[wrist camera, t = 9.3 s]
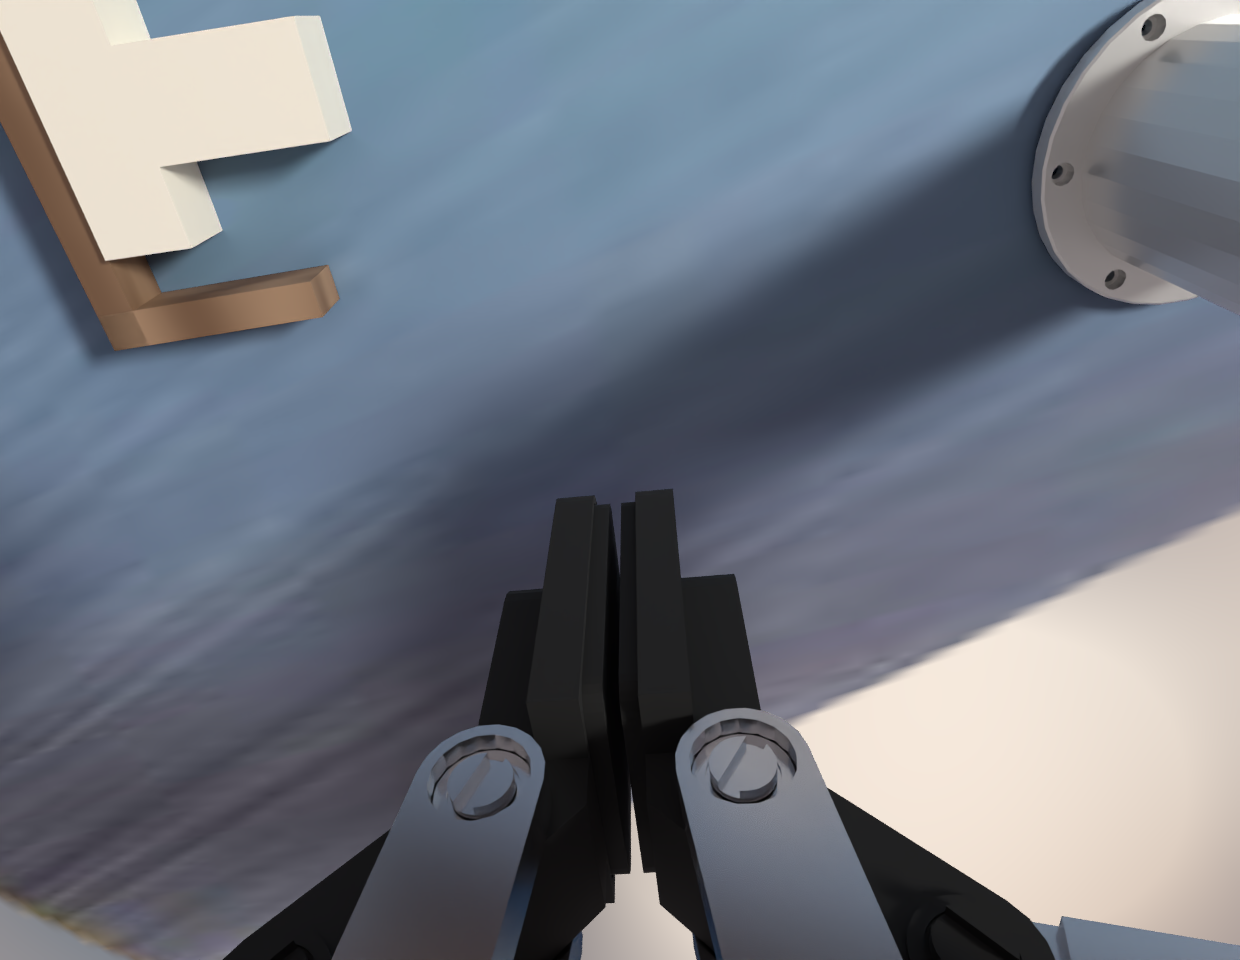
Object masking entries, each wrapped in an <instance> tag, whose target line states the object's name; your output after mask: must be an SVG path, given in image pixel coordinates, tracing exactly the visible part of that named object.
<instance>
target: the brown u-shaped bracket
mask: <svg viewBox="0 0 1240 960" xmlns="http://www.w3.org/2000/svg"><path fill="white" fill-rule="evenodd" d="M0 122H1V124H2V126H3V128H4V130H5V132H6V134H7V136H8V138H9V140H10V142H11V144H12V146H13V148H14V150H15V152H16V154H17V156H18V158H19V160H20V162H21V164H22V166H23V168H24V170H25V172H26V174H27V176H28V178H29V180H30V182H31V184H32V186H33V188H34V190H35V192H36V194H37V196H38V198H39V200H40V202H41V204H42V206H43V208H44V210H45V212H46V214H47V216H48V218H49V220H50V222H51V224H52V226H53V228H54V230H55V232H56V234H57V236H58V238H59V240H60V242H61V244H62V246H63V248H64V250H65V252H66V254H67V256H68V258H69V260H70V262H71V264H72V266H73V268H74V270H75V272H76V274H77V276H78V278H79V280H80V282H81V284H82V286H83V288H84V290H85V292H86V294H87V296H88V298H89V300H90V302H91V304H92V306H93V308H94V310H95V312H96V314H97V316H98V318H99V320H100V322H101V324H102V326H103V328H104V330H105V332H106V334H107V336H108V338H109V340H110V342H111V344H112V346H113V348H114V350H115V351H118V350H124V349H130V348H136V347H142V346H148V345H155V344H161V343H167V342H173V341H179V340H185V339H191V338H197V337H203V336H210V335H216V334H222V333H228V332H234V331H240V330H246V329H252V328H258V327H265V326H271V325H277V324H283V323H289V322H295V321H301V320H307V319H314V318H320V317H323V316H324V315H325V314H326V313H327V312H328V311H329V310H330V308H331V307H332V306H333V305H334V304H335V303H336V302H337V301H338V300H339V299H340V298H339V295H338V293H337V290H336V287H335V284H334V281H333V278H332V275H331V272H330V269H329V266H328V265H324V266H318V267H312V268H306V269H300V270H294V271H288V272H282V273H276V274H270V275H264V276H258V277H252V278H246V279H240V280H234V281H229V282H223V283H217V284H211V285H205V286H199V287H193V288H187V289H181V290H175V291H169V292H163V293H161V291H160V289H159V286H158V284H157V282H156V280H155V278H154V275H153V273H152V271H151V269H150V266H149V264H148V262H147V260H146V258H145V255H142V256H135V257H129V258H122V259H115V260H108V261H105V259H104V257H103V255H102V252H101V250H100V248H99V246H98V244H97V242H96V239H95V237H94V235H93V233H92V231H91V228H90V226H89V224H88V222H87V220H86V217H85V215H84V213H83V211H82V209H81V206H80V204H79V202H78V200H77V198H76V196H75V193H74V191H73V189H72V187H71V185H70V182H69V180H68V178H67V176H66V174H65V171H64V169H63V167H62V165H61V163H60V161H59V158H58V156H57V154H56V152H55V150H54V147H53V145H52V143H51V141H50V139H49V136H48V134H47V132H46V130H45V128H44V126H43V123H42V121H41V119H40V117H39V115H38V112H37V110H36V108H35V106H34V104H33V101H32V99H31V97H30V95H29V93H28V90H27V88H26V86H25V84H24V82H23V80H22V77H21V75H20V73H19V71H18V69H17V66H16V64H15V62H14V60H13V58H12V55H11V53H10V51H9V49H8V47H7V45H6V42H5V40H4V38H3V36H2V34H1V31H0Z"/></svg>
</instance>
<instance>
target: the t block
mask: <svg viewBox="0 0 1240 960" xmlns="http://www.w3.org/2000/svg"><path fill="white" fill-rule="evenodd" d="M0 31H1V34H2V36H3V38H4V40H5V42H6V45H7V47H8V49H9V51H10V53H11V55H12V58H13V60H14V62H15V64H16V66H17V69H18V71H19V73H20V75H21V77H22V80H23V82H24V84H25V86H26V88H27V90H28V93H29V95H30V97H31V99H32V101H33V104H34V106H35V108H36V110H37V112H38V115H39V117H40V119H41V121H42V123H43V126H44V128H45V130H46V132H47V134H48V136H49V139H50V141H51V143H52V145H53V147H54V150H55V152H56V154H57V156H58V158H59V161H60V163H61V165H62V167H63V169H64V171H65V174H66V176H67V178H68V180H69V182H70V185H71V187H72V189H73V191H74V193H75V196H76V198H77V200H78V202H79V204H80V206H81V209H82V211H83V213H84V215H85V217H86V220H87V222H88V224H89V226H90V228H91V231H92V233H93V235H94V237H95V239H96V242H97V244H98V246H99V248H100V250H101V252H102V255H103V257H104V259H105V261H108V260H115V259H122V258H129V257H135V256H142V255H149V254H156V253H163V252H169V251H176V250H183V249H190V248H193V247H195V246H197V245H198V244H200V243H202V242H203V241H205V240H207V239H209V238H210V237H212V236H214V235H216V234H217V233H219V232H221V231H223V230H222V228H221V225H220V222H219V220H218V217H217V214H216V212H215V209H214V206H213V204H212V201H211V198H210V196H209V193H208V190H207V188H206V185H205V182H204V180H203V177H202V174H201V172H200V169H199V166H198V164H197V161H203V160H209V159H216V158H222V157H229V156H236V155H242V154H249V153H255V152H262V151H268V150H275V149H281V148H288V147H295V146H301V145H308V144H314V143H321V142H327V141H332V140H334V139H336V138H338V137H340V136H342V135H344V134H346V133H348V132H351V131H352V129H351V125H350V122H349V118H348V115H347V111H346V107H345V104H344V100H343V97H342V93H341V90H340V86H339V82H338V79H337V75H336V72H335V68H334V65H333V61H332V57H331V54H330V50H329V47H328V43H327V40H326V36H325V32H324V29H323V25H322V22H321V18H320V16H291V17H285V18H279V19H272V20H266V21H260V22H254V23H247V24H241V25H235V26H229V27H222V28H216V29H210V30H204V31H198V32H191V33H185V34H179V35H173V36H166V37H160V38H154V39H150V36H149V33H148V31H147V28H146V25H145V23H144V20H143V17H142V15H141V12H140V9H139V7H138V4H137V1H136V0H0Z"/></svg>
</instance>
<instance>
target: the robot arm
mask: <svg viewBox="0 0 1240 960" xmlns="http://www.w3.org/2000/svg"><path fill="white" fill-rule="evenodd" d="M1144 22H1145V29H1144V31H1143V32H1141V29H1142V27H1143V24H1144ZM1056 167H1057V168H1058V170H1057V172H1056V174H1055V175H1054V176H1052V174H1053V171H1054V169H1055V168H1056ZM1032 198H1033V212H1034V216H1035V219H1036V223H1037V227H1038V231H1039V234H1040V237H1041V239H1042V241H1043V243H1044V244H1045V246H1046V248H1047V250H1048V252H1049V254H1050V256H1051V258H1052V259H1053V260H1054V261H1055V262H1056V263H1057V264H1058V265H1059V266H1060V267H1061V269H1062V270H1063V271H1064V272H1065V273H1066V274H1067V275H1068V276H1070V277H1071V278H1073V279H1074V280H1076V281H1077V282H1079V283H1080V284H1082V285H1083V286H1085V287H1086V288H1088V289H1090V290H1092V291H1094V292H1096V293H1098V294H1100V295H1101V296H1104V297H1106V298H1109V299H1114V300H1118V301H1122V302H1126V303H1131V304H1152V305H1161V304H1167V303H1173V302H1180V301H1186V300H1190V299H1193V298H1196V297H1201V298H1203V299H1206V300H1208V301H1210V302H1212V303H1214V304H1216V305H1218V306H1220V307H1223V308H1225V309H1227V310H1229V311H1231V312H1233V313H1235V314H1237V315H1240V0H1143V1H1142V2H1140V3H1139V4H1137V5H1136V6H1135V7H1134V8H1132V9H1131V10H1130V11H1129V12H1128V13H1126V14H1125V15H1124V16H1123V17H1121V18H1120V19H1119V20H1118V21H1116V22H1115V23H1114V24H1113V25H1112V26H1110V27H1109V28H1108V29H1107V30H1106V32H1105V33H1104V34H1103V35H1102V36H1101V37H1100V38H1099V39H1098V40H1097V41H1096V42H1095V43H1094V45H1093V46H1092V47H1091V48H1090V49H1089V50H1088V51H1087V52H1086V53H1085V54H1084V55H1083V57H1082V58H1081V60H1080V61H1079V63H1078V64H1077V65H1076V67H1075V68H1074V70H1073V71H1072V73H1071V74H1070V76H1069V77H1068V79H1067V80H1066V81H1065V83H1064V84H1063V86H1062V88H1061V90H1060V92H1059V94H1058V96H1057V98H1056V100H1055V102H1054V104H1053V106H1052V108H1051V110H1050V112H1049V114H1048V116H1047V118H1046V121H1045V124H1044V127H1043V130H1042V133H1041V136H1040V140H1039V143H1038V146H1037V149H1036V154H1035V161H1034V169H1033V176H1032ZM1107 275H1108V276H1107ZM631 789H632V796H633V803H634V810H635V817H636V824H637V831H638V838H639V845H640V852H641V858H642V865H643V871H644V873H649V872H656V878H657V885H658V892H659V900H660V905H661V906H663V907H664V908H665V909H666V910H667V911H668V912H669V913H671V914H672V915H673V916H674V917H675V918H676V919H677V920H679V921H680V922H681V923H682V924H683V925H684V926H685V927H687V928H688V929H689V930H690V931H691V932H692V934H693V944H694V950H695V955H696V959H697V960H1240V946H1239V945H1232V944H1227V943H1221V942H1215V941H1209V940H1203V939H1197V938H1190V937H1184V936H1178V935H1173V934H1166V933H1160V932H1154V931H1148V930H1142V929H1136V928H1130V927H1124V926H1118V925H1111V924H1106V923H1100V922H1094V921H1088V920H1082V919H1076V918H1070V917H1064V916H1062V917H1061V921H1060V924H1059V926H1053V925H1047V924H1041V923H1035V922H1032V921H1030V919H1029V918H1028V917H1027V916H1025V915H1024V914H1023V913H1021V912H1020V911H1019V910H1018V909H1016V908H1015V907H1014V906H1013V905H1011V904H1010V903H1009V902H1008V901H1006V900H1005V899H1003V898H1002V897H1000V896H999V895H997V894H995V893H994V892H992V891H991V890H989V889H987V888H986V887H984V886H983V885H981V884H979V883H978V882H976V881H975V880H973V879H972V878H970V877H968V876H967V875H965V874H964V873H962V872H960V871H959V870H957V869H956V868H954V867H952V866H951V865H949V864H948V863H946V862H945V861H943V860H941V859H940V858H938V857H936V856H935V855H933V854H932V853H930V852H929V851H927V850H925V849H924V848H922V847H921V846H919V845H917V844H916V843H914V842H913V841H911V840H910V839H908V838H906V837H905V836H903V835H902V834H900V833H898V832H897V831H895V830H894V829H892V828H891V827H889V826H887V825H886V824H884V823H883V822H881V821H879V820H878V819H876V818H875V817H873V816H872V815H870V814H868V813H867V812H865V811H863V810H862V809H860V808H859V807H857V806H855V805H854V804H852V803H851V802H849V801H848V800H846V799H844V798H843V797H841V796H840V795H838V794H837V793H835V792H833V791H832V790H830V789H828V788H827V787H826V785H825V782H824V780H823V778H822V776H821V773H820V771H819V769H818V767H817V764H816V762H815V760H814V758H813V755H812V753H811V751H810V749H809V746H808V745H807V743H806V742H805V740H804V739H803V738H802V736H801V734H800V733H799V731H798V730H796V729H795V728H794V727H793V726H791V725H790V724H789V723H788V722H786V721H785V720H784V719H782V718H779V717H777V716H775V715H773V714H770V713H768V712H766V711H761V709H760V704H759V699H758V693H757V688H756V683H755V677H754V672H753V667H752V661H751V656H750V651H749V646H748V640H747V635H746V630H745V624H744V619H743V614H742V608H741V603H740V598H739V593H738V587H737V582H736V578H735V575H734V574H728V575H715V576H702V577H689V578H681V575H680V564H679V553H678V542H677V531H676V520H675V509H674V498H673V489H665V490H653V491H642V492H636V493H635V502H629V503H622V504H621V557H620V573H619V566H618V558H617V550H616V542H615V534H614V527H613V519H612V512H611V506H610V504H605V505H597V502H596V498H595V496H582V497H570V498H558V499H557V500H556V505H555V512H554V519H553V525H552V532H551V539H550V545H549V552H548V559H547V566H546V572H545V579H544V586H543V589H534V590H521V591H509V592H508V593H507V595H506V598H505V601H504V606H503V611H502V616H501V620H500V625H499V630H498V635H497V639H496V644H495V649H494V654H493V658H492V663H491V668H490V672H489V677H488V682H487V687H486V691H485V696H484V701H483V706H482V710H481V715H480V720H479V725H478V726H477V727H474V728H470V729H467V730H464V731H461V732H458V733H457V734H455V735H453V736H451V737H450V738H448V739H446V740H444V741H443V742H441V743H440V744H439V745H438V746H437V747H436V748H435V749H434V750H433V751H432V752H430V753H429V754H428V755H427V757H426V758H425V760H424V761H423V763H422V764H421V766H420V767H419V769H418V771H417V772H416V775H415V777H414V779H413V781H412V783H411V786H410V788H409V790H408V792H407V794H406V797H405V799H404V801H403V803H402V805H401V808H400V810H399V812H398V814H397V816H396V819H395V821H394V823H393V825H392V827H391V829H390V830H389V831H387V832H386V833H385V834H383V835H382V836H381V837H379V838H378V839H377V840H375V841H374V842H373V843H371V844H370V845H369V846H367V847H366V848H365V849H363V850H362V851H361V852H360V853H358V854H357V855H356V856H354V857H353V858H352V859H350V860H349V861H348V862H346V863H345V864H344V865H342V866H341V867H340V868H338V869H337V870H336V871H334V872H333V873H332V874H330V875H329V876H328V877H327V878H325V879H324V880H323V881H321V882H320V883H319V884H317V885H316V886H315V887H313V888H312V889H311V890H309V891H308V892H307V893H305V894H304V895H303V896H301V897H300V898H299V899H297V900H296V901H295V902H294V903H292V904H291V905H290V906H288V907H287V908H286V909H284V910H283V911H282V912H280V913H279V914H278V915H276V916H275V917H274V918H272V919H271V920H270V921H268V922H267V923H266V924H264V925H263V926H262V927H261V928H259V929H258V930H257V931H255V932H254V933H253V934H251V935H250V936H249V937H247V938H246V939H245V940H243V941H242V942H241V943H240V944H239V945H238V946H237V947H236V948H235V949H234V950H233V951H232V952H230V953H229V954H228V955H227V956H226V957H225V958H224V959H223V960H581V955H582V940H583V934H582V930H583V929H584V928H585V927H586V926H587V925H588V924H589V923H590V922H591V921H592V920H593V919H594V918H595V917H596V916H597V915H598V914H599V913H600V912H601V911H602V910H603V909H604V908H605V904H606V903H614V902H615V901H614V900H615V874H630V871H631Z"/></svg>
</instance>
